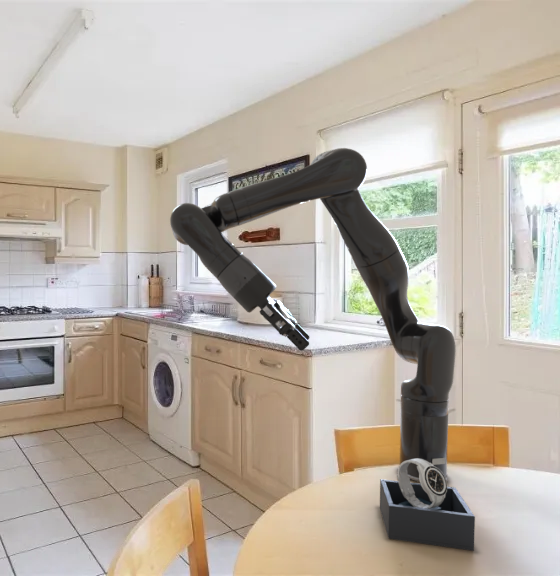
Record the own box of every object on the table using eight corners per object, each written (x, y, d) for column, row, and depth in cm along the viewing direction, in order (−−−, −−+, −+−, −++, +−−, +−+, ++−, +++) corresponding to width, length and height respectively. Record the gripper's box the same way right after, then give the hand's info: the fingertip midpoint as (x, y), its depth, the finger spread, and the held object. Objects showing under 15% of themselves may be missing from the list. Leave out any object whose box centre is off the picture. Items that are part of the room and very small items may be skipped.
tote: (379, 508, 90) (380, 478, 89) (454, 517, 86) (455, 487, 86) (388, 538, 79) (389, 505, 79) (474, 551, 76) (474, 516, 76)
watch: (430, 539, 78) (431, 473, 78) (389, 516, 85) (390, 455, 85) (452, 531, 81) (453, 467, 80) (410, 509, 88) (412, 450, 87)
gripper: (255, 269, 85) (321, 335, 83) (263, 269, 99) (320, 326, 96) (226, 298, 87) (290, 364, 84) (237, 294, 101) (293, 351, 98)
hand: (306, 344), depth 90 cm, fingers open, 8 cm apart
